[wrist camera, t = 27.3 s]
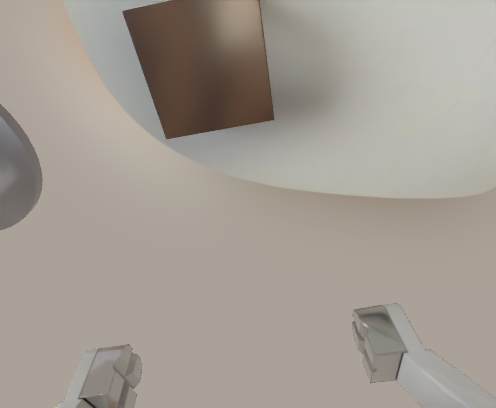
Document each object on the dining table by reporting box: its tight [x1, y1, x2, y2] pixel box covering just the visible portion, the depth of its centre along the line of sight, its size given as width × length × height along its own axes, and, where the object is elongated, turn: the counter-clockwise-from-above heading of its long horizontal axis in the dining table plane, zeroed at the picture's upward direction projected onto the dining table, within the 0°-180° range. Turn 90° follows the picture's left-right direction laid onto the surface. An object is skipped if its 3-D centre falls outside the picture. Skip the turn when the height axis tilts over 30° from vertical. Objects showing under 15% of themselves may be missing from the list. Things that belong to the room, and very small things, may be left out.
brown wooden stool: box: [123, 0, 274, 139], centre depth 30 cm, size 11×11×10 cm
